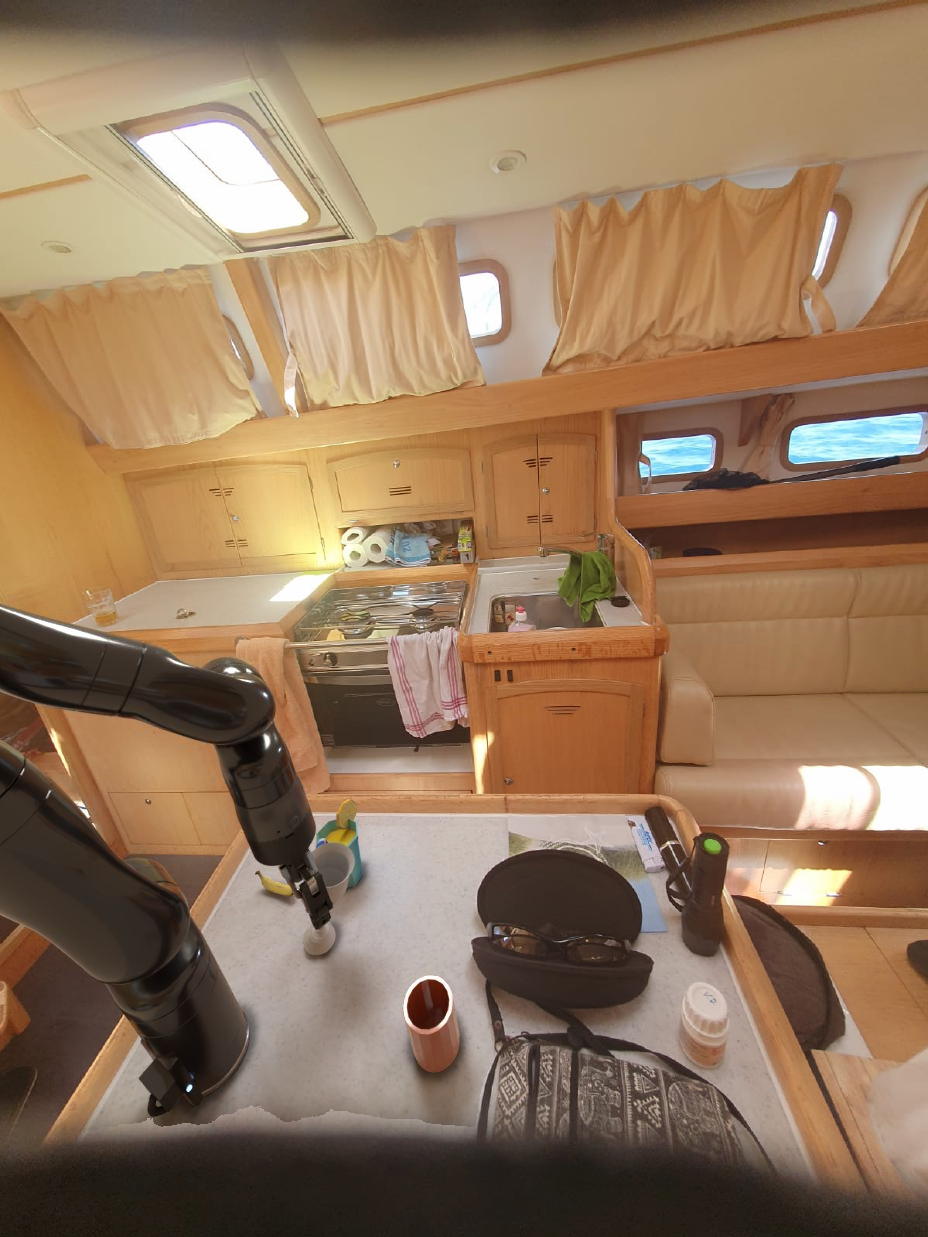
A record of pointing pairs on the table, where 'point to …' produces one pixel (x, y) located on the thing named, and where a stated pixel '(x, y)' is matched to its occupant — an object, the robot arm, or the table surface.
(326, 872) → the chalice
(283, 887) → the banana
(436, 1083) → the table surface
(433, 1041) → the tumbler
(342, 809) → the cup
